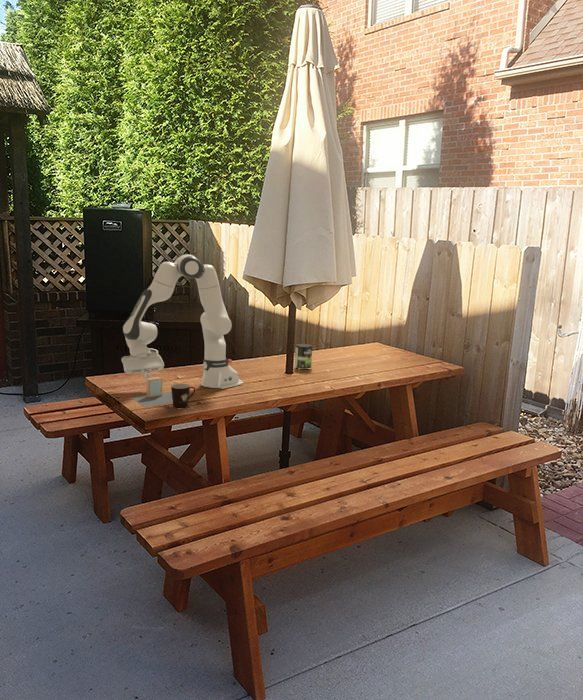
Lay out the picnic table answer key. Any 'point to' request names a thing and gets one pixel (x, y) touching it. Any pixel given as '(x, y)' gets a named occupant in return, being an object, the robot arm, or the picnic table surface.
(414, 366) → the picnic table surface
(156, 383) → the light orange block
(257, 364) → the picnic table surface
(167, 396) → the mat
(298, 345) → the coffee can
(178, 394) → the coffee mug
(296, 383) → the picnic table surface
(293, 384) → the picnic table surface
